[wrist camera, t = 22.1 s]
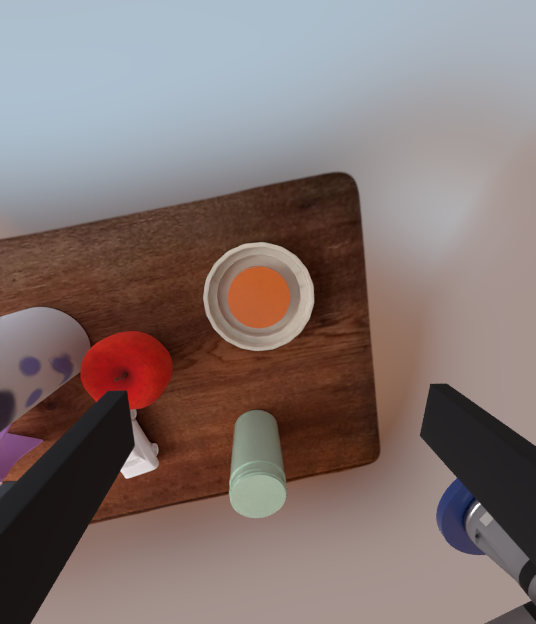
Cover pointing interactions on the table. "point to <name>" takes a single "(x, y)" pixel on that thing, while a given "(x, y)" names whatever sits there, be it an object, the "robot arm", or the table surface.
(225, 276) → the dish
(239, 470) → the jar
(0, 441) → the toy chair
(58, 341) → the container
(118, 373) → the apple
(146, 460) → the toy car
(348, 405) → the table surface
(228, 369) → the table surface
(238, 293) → the lid
